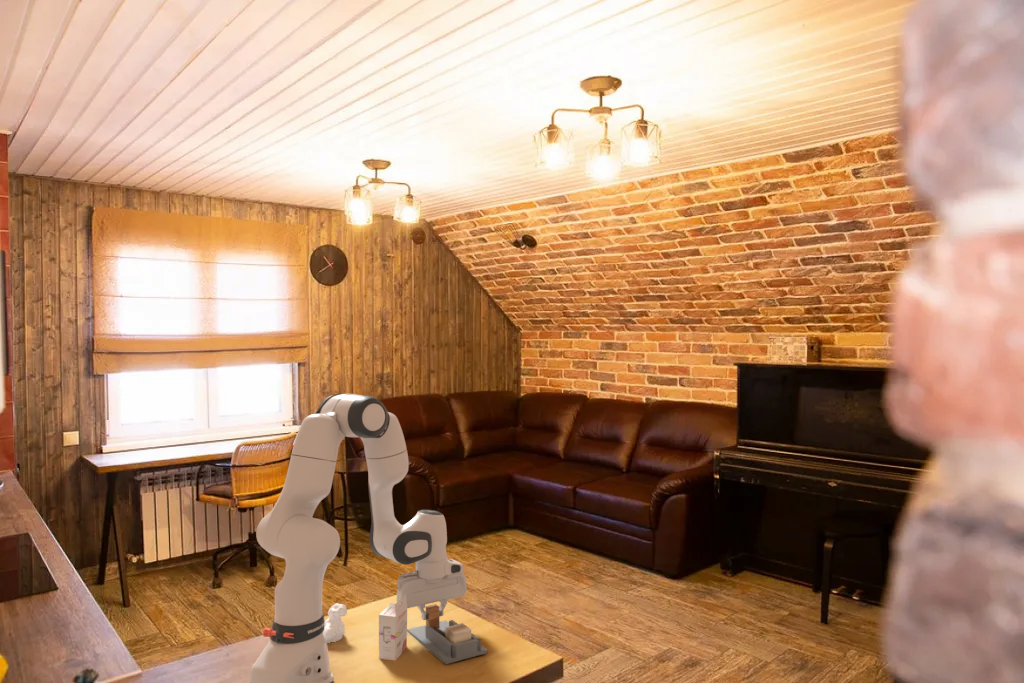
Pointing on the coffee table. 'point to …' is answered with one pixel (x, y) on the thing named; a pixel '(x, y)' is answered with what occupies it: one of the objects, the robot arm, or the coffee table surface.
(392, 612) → the ink cartridge box
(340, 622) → the bust
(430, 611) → the block
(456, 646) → the grey slotted base
